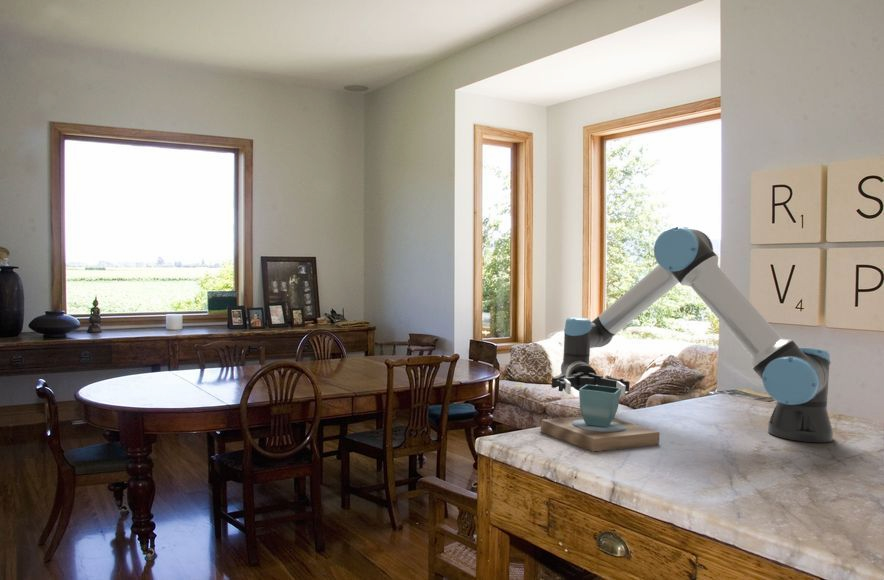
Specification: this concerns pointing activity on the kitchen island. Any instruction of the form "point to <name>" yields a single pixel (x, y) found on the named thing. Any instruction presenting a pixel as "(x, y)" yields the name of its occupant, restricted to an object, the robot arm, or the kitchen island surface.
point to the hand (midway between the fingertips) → (596, 389)
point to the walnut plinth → (599, 433)
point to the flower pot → (599, 404)
